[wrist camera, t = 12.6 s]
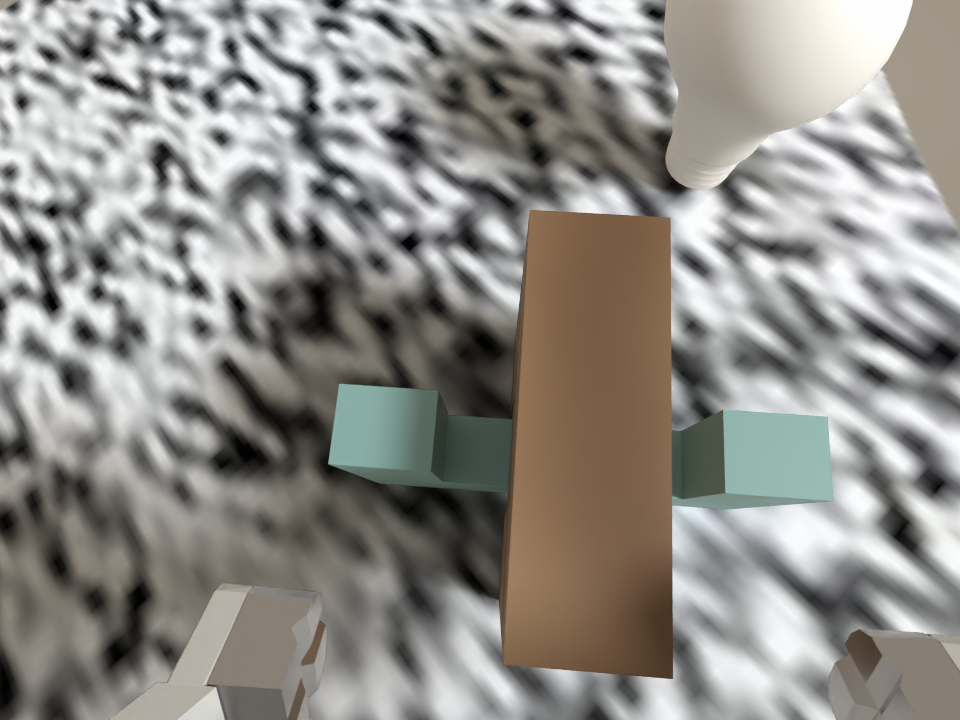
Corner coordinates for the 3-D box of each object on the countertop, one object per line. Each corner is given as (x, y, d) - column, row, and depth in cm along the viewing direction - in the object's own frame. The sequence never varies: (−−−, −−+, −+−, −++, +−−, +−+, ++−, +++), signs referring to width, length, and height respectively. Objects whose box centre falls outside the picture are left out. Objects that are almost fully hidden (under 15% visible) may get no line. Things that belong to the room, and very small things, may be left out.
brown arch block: (499, 600, 21) (502, 664, 11) (515, 342, 23) (529, 209, 13) (589, 607, 21) (673, 679, 11) (596, 347, 23) (670, 217, 13)
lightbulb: (584, 150, 25) (650, -126, 14) (708, 81, 26) (857, -229, 15) (673, 270, 24) (818, 61, 13) (801, 194, 24) (1038, -63, 14)
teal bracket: (379, 483, 22) (328, 463, 15) (386, 427, 22) (339, 383, 16) (726, 509, 21) (833, 501, 15) (724, 451, 22) (827, 416, 15)
